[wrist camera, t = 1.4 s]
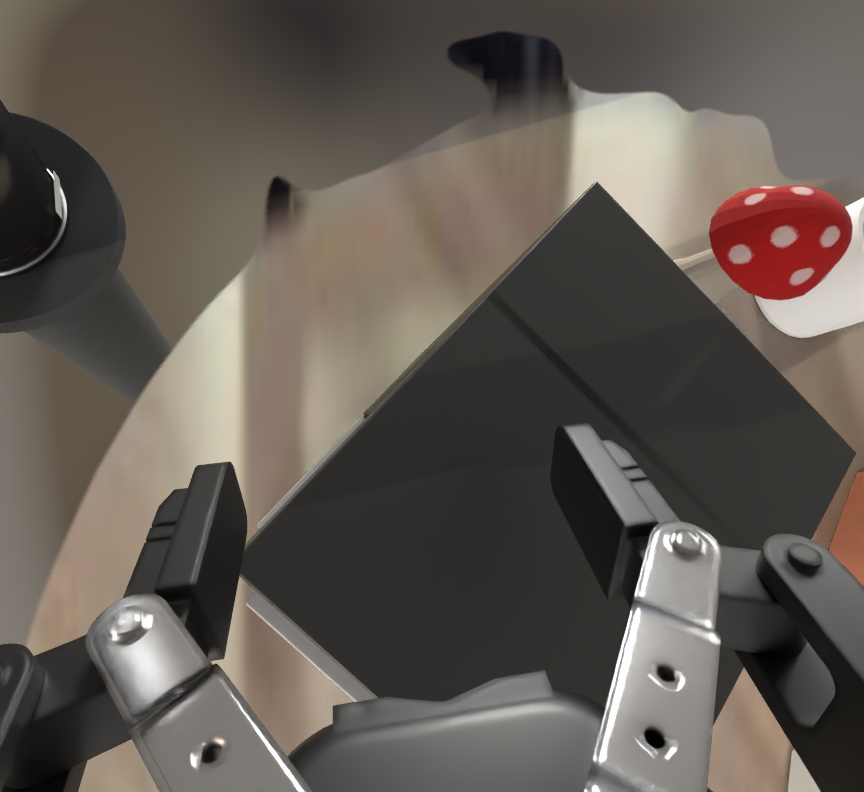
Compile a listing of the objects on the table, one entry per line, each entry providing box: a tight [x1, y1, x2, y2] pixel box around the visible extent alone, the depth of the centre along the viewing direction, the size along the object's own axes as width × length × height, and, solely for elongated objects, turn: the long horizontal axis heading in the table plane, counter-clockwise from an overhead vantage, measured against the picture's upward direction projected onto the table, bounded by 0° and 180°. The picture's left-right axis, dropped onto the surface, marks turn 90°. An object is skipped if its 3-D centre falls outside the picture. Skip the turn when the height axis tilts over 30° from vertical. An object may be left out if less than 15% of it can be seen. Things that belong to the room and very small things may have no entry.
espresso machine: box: [239, 181, 856, 725], centre depth 28 cm, size 14×18×24 cm
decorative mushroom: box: [673, 185, 853, 305], centre depth 43 cm, size 10×9×15 cm
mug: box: [755, 198, 864, 338], centre depth 49 cm, size 13×10×10 cm
